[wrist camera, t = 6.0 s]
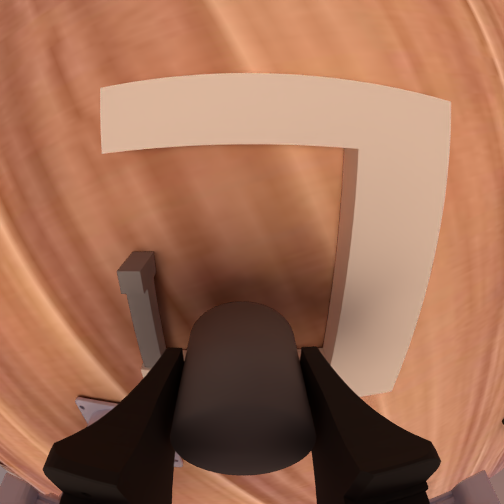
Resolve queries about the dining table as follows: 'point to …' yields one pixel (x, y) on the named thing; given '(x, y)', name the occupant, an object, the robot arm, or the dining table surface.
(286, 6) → the dining table surface
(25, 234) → the dining table surface
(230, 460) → the dark gray cylinder
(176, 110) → the beige u-shaped block
